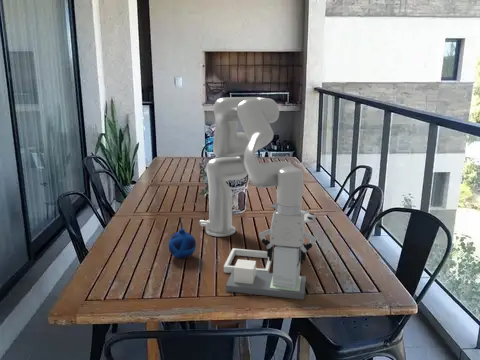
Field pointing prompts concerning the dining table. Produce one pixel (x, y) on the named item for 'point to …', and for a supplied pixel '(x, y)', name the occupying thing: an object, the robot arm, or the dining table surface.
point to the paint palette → (308, 216)
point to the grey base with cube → (260, 282)
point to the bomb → (182, 244)
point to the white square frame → (247, 253)
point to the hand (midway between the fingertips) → (286, 260)
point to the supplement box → (286, 266)
